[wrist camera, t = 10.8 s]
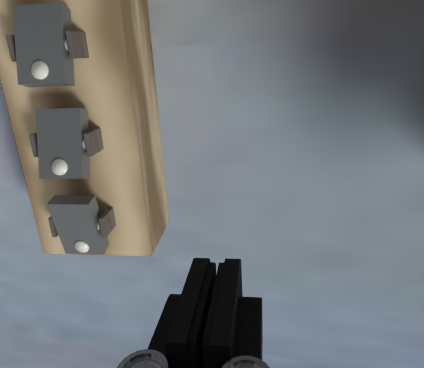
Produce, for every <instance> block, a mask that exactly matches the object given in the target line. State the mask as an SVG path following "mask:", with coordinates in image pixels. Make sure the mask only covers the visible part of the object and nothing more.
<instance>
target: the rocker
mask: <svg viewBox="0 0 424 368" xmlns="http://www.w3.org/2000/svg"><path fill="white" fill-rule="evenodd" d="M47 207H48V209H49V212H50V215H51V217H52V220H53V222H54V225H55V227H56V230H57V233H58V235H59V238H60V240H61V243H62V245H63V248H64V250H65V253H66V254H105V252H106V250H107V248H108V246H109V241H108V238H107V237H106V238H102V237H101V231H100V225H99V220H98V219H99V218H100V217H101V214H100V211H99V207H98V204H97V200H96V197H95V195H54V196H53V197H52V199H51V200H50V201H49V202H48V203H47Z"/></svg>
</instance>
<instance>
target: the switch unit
mask: <svg viewBox="0 0 424 368" xmlns="http://www.w3.org/2000/svg"><path fill="white" fill-rule="evenodd" d="M55 2H61V3H62V4H64V5H65V6H66V7H68V8H69V9H70V10H71V24H72V31H65V33H66V38H67V44H68V50H69V55H70V59H73V60H74V79H75V86H56V87H31V88H30V87H26V86H22V85H18V78H17V64H16V50H15V36H14V22H13V8H12V6H13V5H27V4H41V3H55ZM0 80H1V84H2V88H3V92H4V96H5V100H6V104H7V108H8V112H9V116H10V120H11V124H12V128H13V132H14V136H15V140H16V144H17V149H18V153H19V157H20V161H21V165H22V169H23V173H24V177H25V181H26V185H27V189H28V193H29V197H30V201H31V205H32V209H33V213H34V218H35V222H36V226H37V230H38V234H39V238H40V242H41V246H42V250H43V254H66V253H65V250H64V248H63V245H62V243H61V240H60V238H59V235H58V233H57V230H56V227H55V225H54V222H53V220H52V217H51V215H50V212H49V209H48V207H47V203H48V202H49V201H50V200H51V199H52V197H53V196H54V195H95V197H96V200H97V204H98V207H99V211H100V214H101V217H100V218H99V219H98V220H99V225H100V231H101V237H102V238H106V237H107V238H108V241H109V246H108V248H107V250H106V252H105V254H84V255H127V256H152V254H153V252H154V250H155V248H156V246H157V244H158V242H159V240H160V238H161V236H162V234H163V232H164V230H165V228H166V226H167V224H168V222H169V217H168V207H167V196H166V186H165V176H164V166H163V156H162V146H161V136H160V126H159V116H158V106H157V96H156V86H155V75H154V65H153V55H152V45H151V35H150V25H149V15H148V5H147V0H0ZM57 108H82V109H86V110H88V125H89V131H88V132H86V133H84V134H83V135H84V140H85V146H86V152H87V157H90V175H91V177H90V178H83V179H39V166H38V146H37V127H36V109H57Z"/></svg>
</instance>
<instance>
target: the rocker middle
mask: <svg viewBox="0 0 424 368" xmlns="http://www.w3.org/2000/svg"><path fill="white" fill-rule="evenodd" d="M36 127H37V146H38V166H39V179H83V178H90V177H91V175H90V157H87V152H86V146H85V140H84V135H83V134H84V133H86V132H88V131H89V125H88V110H86V109H82V108H57V109H36Z"/></svg>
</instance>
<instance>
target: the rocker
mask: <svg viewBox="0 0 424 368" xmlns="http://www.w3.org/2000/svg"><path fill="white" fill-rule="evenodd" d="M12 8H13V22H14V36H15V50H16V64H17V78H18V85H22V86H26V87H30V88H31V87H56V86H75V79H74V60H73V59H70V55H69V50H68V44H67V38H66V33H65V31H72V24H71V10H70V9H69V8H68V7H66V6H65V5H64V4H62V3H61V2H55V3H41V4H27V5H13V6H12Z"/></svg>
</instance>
